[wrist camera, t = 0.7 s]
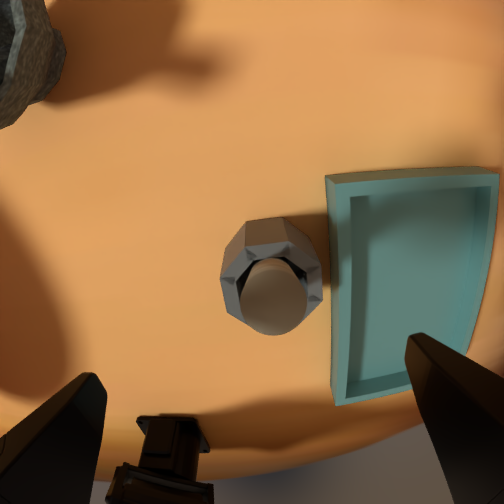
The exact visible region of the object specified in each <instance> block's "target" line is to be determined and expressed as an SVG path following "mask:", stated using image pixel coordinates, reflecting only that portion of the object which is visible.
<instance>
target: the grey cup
mask: <svg viewBox="0 0 504 504" xmlns="http://www.w3.org/2000/svg"><path fill="white" fill-rule="evenodd" d="M275 257H283V258H284V259H285V260H286V261H287V263H288V264H289V266H290V268H291V269H292V271H293V272H294V274H295V275H296V277H297V278H298V280H299V281H300V283H301V285H302V286H303V288H304V290H305V293H306V296H307V309H306V313H305V315H304V317H303V319H302V321H303V320H304V319H305V318H306V317H307V316H308V315H309V314H310V313H311V312H312V311H313V310H314V309H315V308H316V307H317V306H318V305H319V304H320V303H321V302H322V300H323V294H322V269H321V264H320V261H319V259H318V257H317V254H316V252H315V250H314V248H313V245H312V243H311V241H310V239H309V237H308V236H307V235H305V234H304V233H303V232H301V231H300V230H299V229H297V228H296V227H295V226H293V225H292V224H291V223H289V222H288V221H287V220H285V219H284V218H283V217H277V218H269V219H262V220H254V221H246V222H245V224H244V225H243V226H242V227H241V229H240V230H239V231H238V232H237V234H236V235H235V236H234V237H233V239H232V240H231V241H230V243H229V244H228V245H227V246H226V248H225V252H224V258H223V263H222V268H221V274H220V282H221V287H222V291H223V296H224V301H225V305H226V310H227V313H229V314H230V315H232V316H234V317H235V318H237V319H239V320H240V321H242V322H244V323H245V324H247V322H246V321H245V319H244V318H243V316H242V313H241V309H240V298H241V294H242V291H243V288H244V286H245V283H246V281H247V279H248V276H249V274H250V272H251V269H252V267H253V265H254V263H255V261H256V260H259V259H267V258H275ZM302 321H301V322H302ZM301 322H300V323H301ZM300 323H299V324H300ZM299 324H298V325H299ZM247 325H248V324H247ZM298 325H297V326H298Z"/></svg>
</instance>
